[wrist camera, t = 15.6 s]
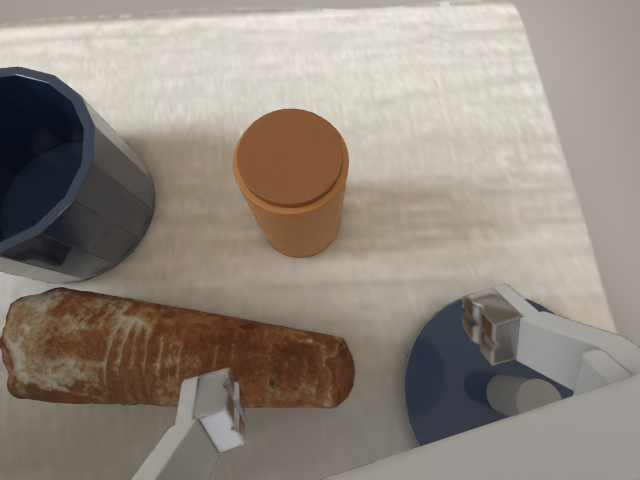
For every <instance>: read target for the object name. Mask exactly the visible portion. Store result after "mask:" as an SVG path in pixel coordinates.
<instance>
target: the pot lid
mask: <svg viewBox="0 0 640 480" xmlns="http://www.w3.org/2000/svg"><path fill="white" fill-rule="evenodd" d="M462 299H463V298H462ZM462 299H459V300H456V301H454V302H452V303H450V304H448V305H446V306H444V307H443V308H442V309H440V310H439V311H437V312H436V313H435V314H434V315H433V316H432V317H430V318H429V319H428V320H427V321H426V323H425V324H424V325H423V326H422V328H421V329H420V330H419V332H418V333H417V335H416V337H415V339H414V340H413V342H412V345H411V347H410V349H409V352H408V355H407V359H406V362H405V367H404V374H403V399H404V407H405V411H406V416H407V420H408V423H409V426H410V428H411V431H412V434H413V436H414V438H415V440H416V442H417V444H418V446H419V447H420V446H423V445H426V444H429V443H432V442H435V441H438V440H441V439H444V438H447V437H450V436H453V435H456V434H459V433H462V432H465V431H468V430H471V429H474V428H477V427H480V426H483V425H486V424H489V423H492V422H495V421H498V420H502V419H505V418H508V417H511V416H514V415H517V414H520V413H523V412H526V411H529V410H532V409H535V408H538V407H541V406H544V405H547V404H550V403H553V402H556V401H559V400H562V399H565V398H568V397H571V396H573V393H574V391H573V390H571V389H569V388H567V387H565V386H563V385H562V384H560V383H558V382H556V381H554V380H552V379H550V378H549V377H547V376H545V375H543V374H541V373H539V372H537V371H535V370H534V369H532V368H530V367H528V366H526V365H524V364H522V363H520V362H519V361H517V360H516V359H514V360H510V361H507V362H503V363H500V364H497V365H493V366H492V365H491V364H490V363H489V362H488V361H487V359H486V358H485V357H484V356H483V354H482V353H481V352H480V345H479V344H477V343H475V342H472V340H471V339H470V338H469V336H468V335H467V333H466V331H465V329H464V326H463V322H462V315H463V313H464V312H465V308H464V307H463V306H462ZM525 300H526V301H527V302H528V303H529V304H531V305H532V306H533V307H534V308H535V309H536V310H538V311H539V312H542V311H545V312H548V313H551V314H554V313H553V312H551V311H549V310H548V309H546V308H545V307H543V306H541V305H539V304H537V303H535V302H533V301H530V300H527V299H525ZM554 315H555V314H554Z"/></svg>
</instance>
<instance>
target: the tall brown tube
mask: <svg viewBox="0 0 640 480" xmlns="http://www.w3.org/2000/svg"><path fill="white" fill-rule="evenodd" d="M348 166H349V157H348V151H347V147H346V144H345V142H344V140H343V138H342V136H341V135H340V133H339V132H338V131H337V129H336V128H335V127H334V126H333V125H332V124H330V123H329V122H328V121H327V120H325V119H323V118H322V117H320V116H318V115H316V114H314V113H312V112H309V111H305V110H300V109H282V110H277V111H274V112H271V113H268V114H266V115H264V116H262V117H261V118H259V119H258V120H256V121H255V122H254V123H253V124H252V125H251V126H250V127H249V128H248V129H247V130H246V131H245V132H244V134H243V135H242V137H241V138H240V140H239V142H238V144H237V146H236V150H235V153H234V159H233V168H234V175H235V178H236V181H237V183H238V185H239V187H240V189H241V191H242V193H243V195H244V197H245V199H246V201H247V203H248V205H249V207H250V208H251V210H252V212H253V214H254V216H255V218H256V220H257V222H258V224H259V226H260V228H261V230H262V231H263V233H264V235H265V237H266V239H267V240H268V242H269V243H270V244H271V245H272V246H273V247H274V248H275V249H276V250H278V251H279V252H281V253H283V254H285V255H288V256H292V257H308V256H312V255H315V254H317V253H319V252H321V251H323V250H324V249H325V248H327V247H328V246H329V245H330V244H331V242H332V241H333V240H334V238H335V236H336V234H337V232H338V228H339V223H340V217H341V211H342V204H343V198H344V192H345V186H346V180H347V173H348Z"/></svg>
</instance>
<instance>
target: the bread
mask: <svg viewBox="0 0 640 480" xmlns="http://www.w3.org/2000/svg"><path fill="white" fill-rule="evenodd" d="M0 348H1V350H2V358H3V363H4V364H5V366H6V368H7V370H8V373H9V378H8V381H7V387H8V391H9V392H10V394H11V395H13V396H14V397H16V398H19V399H31V400H39V401H45V402H52V403H72V404H90V403H94V404H121V405H138V404H146V405H149V404H151V405H157V406H178V403H179V397H180V391H181V385H182V383H183V381H184V380H186V379H190V378H193V377H197V376H199V375H203V374H207V373H210V372H214V371H217V370H221V369H225V368H228V367H229V368H231V369H232V371H233V373H234V382H236V383H239V385H240V388H241V390H242V394H243V398H244V404H245V408H260V407H269V408H310V407H318V408H335V407H337V406H338V405H340V404H341V403H342V402H343V401H344V400H345V399H346V398H347V397H348V395H349V393H350V392H351V389H352V387H353V381H354V374H355V370H354V362H353V358H352V355H351V353H350V351H349V349H348V347H347V345H346V342H345V341H344V339H343V338H340V337H335V336H331V335H326V334H320V333H315V332H309V331H302V330H296V329H291V328H287V327H282V326H276V325H271V324H264V323H259V322H255V321H250V320H245V319H239V318H234V317H228V316H223V315H217V314H212V313H206V312H200V311H195V310H189V309H184V308H177V307H171V306H165V305H160V304H155V303H147V302H142V301H138V300H134V299H129V298H122V297H117V296H111V295H105V294H99V293H94V292H88V291H78V290H74V289H68V288H64V287H59V288H54V289H51V290H48V291H46V292H44V293H41V294H37V295H30V296H25V297H21V298H19V299H17V300H16V301H14V302H13V303H11V305H10V308H9V311H8V313H7V316H6V325H5V327H4V328H3V333H2V336H1V338H0Z"/></svg>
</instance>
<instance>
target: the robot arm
mask: <svg viewBox="0 0 640 480" xmlns="http://www.w3.org/2000/svg"><path fill="white" fill-rule="evenodd" d="M462 306H463V307H464V308H465V312H464V313H463V315H462V322H463V326H464V329H465V331H466V333H467V335H468V336H469V338H470V339H471V340H472V342H475V343H477V344H479V345H480V352H481V353H482V354H483V356H484V357H485V358H486V359H487V361H488V362H489V363H490V364H491V365H492V366H493V365H497V364H500V363H503V362H507V361H510V360H514V359H516V360H517V361H519V362H520V363H522V364H524V365H526V366H528V367H530V368H532V369H534V370H535V371H537V372H539V373H541V374H543V375H545V376H547V377H549V378H550V379H552V380H554V381H556V382H558V383H560V384H562V385H563V386H565V387H567V388H569V389H571V390H573V391H574V393H573V396H571V397H568V398H565V399H562V400H559V401H556V402H553V403H550V404H547V405H544V406H541V407H538V408H535V409H532V410H529V411H526V412H523V413H520V414H517V415H514V416H511V417H508V418H505V419H502V420H498V421H495V422H492V423H489V424H486V425H483V426H480V427H477V428H474V429H471V430H468V431H465V432H462V433H459V434H456V435H453V436H450V437H447V438H444V439H441V440H438V441H435V442H432V443H429V444H426V445H423V446H420V447H417V448H414V449H411V450H408V451H405V452H402V453H399V454H396V455H393V456H390V457H387V458H384V459H381V460H378V461H375V462H372V463H369V464H366V465H363V466H360V467H356V468H353V469H350V470H347V471H344V472H341V473H338V474H335V475H332V476H329V477H326V478H323V479H320V480H640V347H639V346H637V345H636V344H634V343H633V342H632V341H631V340H629V339H628V338H626V337H623V336H620V335H617V334H614V333H611V332H608V331H605V330H602V329H598V328H595V327H592V326H589V325H586V324H583V323H580V322H576V321H573V320H570V319H567V318H564V317H561V316H558V315H554V314H551V313H548V312H545V311H542V312H539V311H538V310H536V309H535V308H534V307H533V306H532V305H531V304H529V303H528V302H527V301H526V300H525V299H524V298H523V297H521V296H520V295H519V294H518V293H517V292H516V291H515V290H513V289H512V288H511V287H510V286H509V285H507V284H502V285H498V286H495V287H492V288H490V289H486V290H483V291H479V292H476V293H473V294H470V295H467V296H464V297H463V299H462ZM244 413H245V404H244V398H243V394H242V390H241V388H240V385H239V383H236V382H234V373H233V371H232V369H231V368H229V367H228V368H225V369H221V370H217V371H214V372H210V373H207V374H203V375H199V376H197V377H193V378H190V379H186V380H184V381H183V383H182V385H181V391H180V397H179V403H178V409H177V415H176V421H175V425H174V426H171V427H170V428H169V429H168V430H167V432H166V433H165V434H164V436H163V437H162V438H161V440H160V441H159V442H158V444H157V445H156V446H155V448H154V449H153V450H152V452H151V453H150V455H149V456H148V457H147V459H146V460H145V461H144V463H143V464H142V465H141V467H140V468H139V469H138V471H137V472H136V473H135V475H134V476H133V477H132V479H131V480H208V478H209V476H210V473H211V471H212V469H213V467H214V465H215V463H216V461H217V459H218V457H219V453H222V452H225V451H227V450H230V449H233V448H236V447H239V446H242V445H245V424H244V422H243V420H242V416H243V415H244Z"/></svg>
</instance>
